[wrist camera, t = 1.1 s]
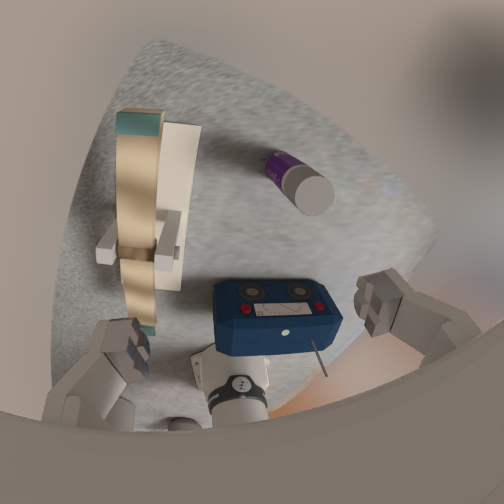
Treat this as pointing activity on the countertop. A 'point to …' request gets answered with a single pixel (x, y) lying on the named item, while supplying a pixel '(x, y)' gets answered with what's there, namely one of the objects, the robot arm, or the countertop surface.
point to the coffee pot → (183, 425)
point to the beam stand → (166, 206)
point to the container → (300, 183)
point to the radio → (273, 318)
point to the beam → (138, 208)
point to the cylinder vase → (121, 415)
